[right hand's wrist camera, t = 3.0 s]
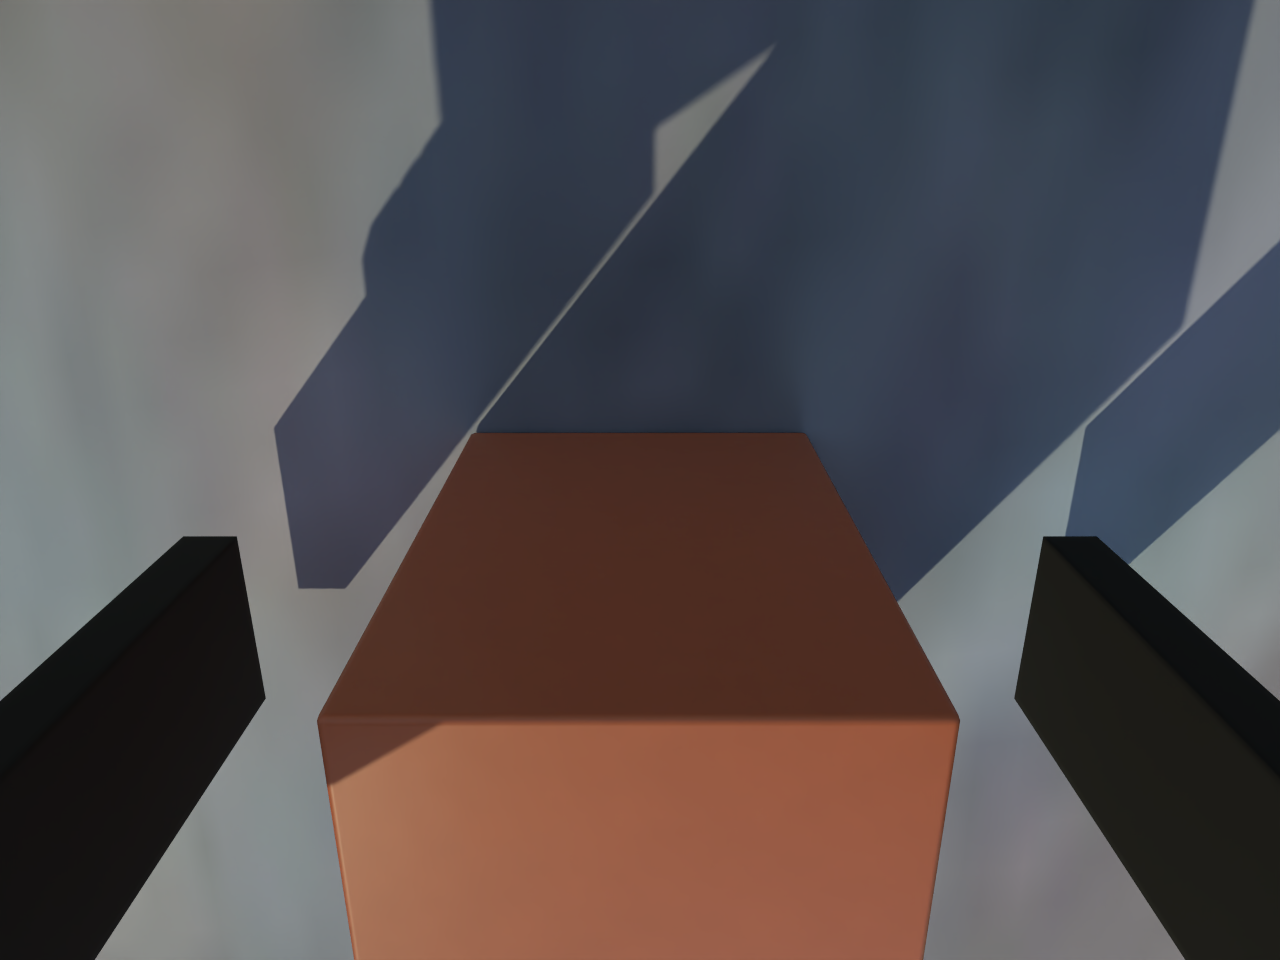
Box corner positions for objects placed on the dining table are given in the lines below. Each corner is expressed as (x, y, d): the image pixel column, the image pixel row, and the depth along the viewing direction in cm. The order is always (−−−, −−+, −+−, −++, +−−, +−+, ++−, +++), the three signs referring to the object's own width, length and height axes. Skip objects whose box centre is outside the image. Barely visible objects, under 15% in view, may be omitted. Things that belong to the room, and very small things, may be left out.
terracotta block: (490, 712, 15) (379, 1149, 9) (471, 431, 13) (312, 718, 7) (787, 713, 15) (897, 1149, 9) (806, 430, 13) (964, 718, 7)
